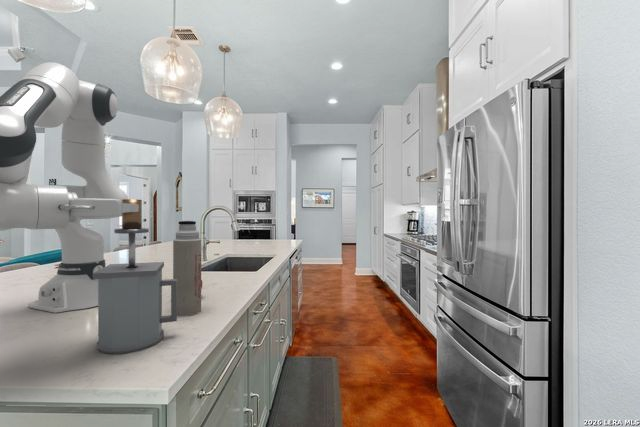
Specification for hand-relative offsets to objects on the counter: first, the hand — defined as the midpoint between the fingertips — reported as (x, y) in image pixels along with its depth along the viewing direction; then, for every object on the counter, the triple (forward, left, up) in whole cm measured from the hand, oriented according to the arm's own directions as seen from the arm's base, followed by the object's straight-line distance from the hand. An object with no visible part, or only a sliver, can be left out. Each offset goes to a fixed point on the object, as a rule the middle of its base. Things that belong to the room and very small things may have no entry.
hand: (130, 207), depth 74 cm
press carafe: (+2, +1, -32) cm, 32 cm away
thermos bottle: (0, +22, -32) cm, 39 cm away
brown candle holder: (0, 0, -17) cm, 17 cm away
